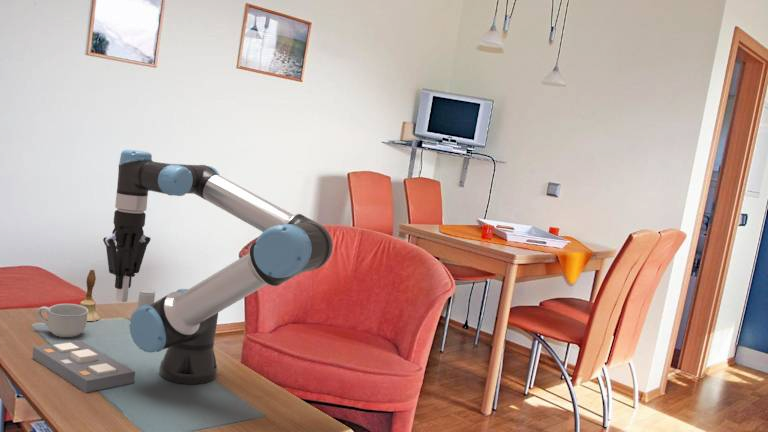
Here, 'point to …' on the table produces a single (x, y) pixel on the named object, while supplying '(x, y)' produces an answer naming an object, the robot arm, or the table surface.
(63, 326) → the teacup
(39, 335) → the table surface
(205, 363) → the robot arm
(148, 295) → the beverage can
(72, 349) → the button
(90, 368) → the button
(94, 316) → the hand bell
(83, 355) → the button middle
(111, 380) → the key board
